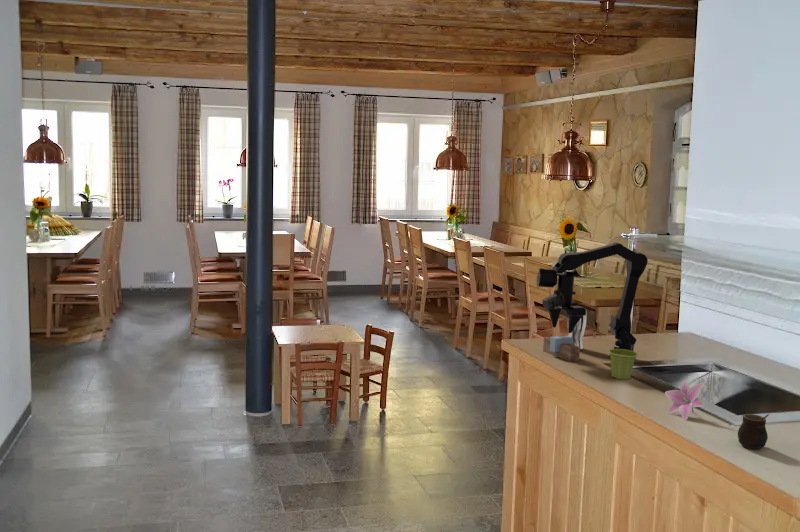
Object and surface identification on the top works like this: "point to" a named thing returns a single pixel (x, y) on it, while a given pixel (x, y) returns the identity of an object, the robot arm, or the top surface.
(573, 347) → the rail
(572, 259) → the robot arm
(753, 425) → the mate gourd
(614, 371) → the plant pot
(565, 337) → the light blue block
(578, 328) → the beer glass
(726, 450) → the top surface
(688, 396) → the lily
